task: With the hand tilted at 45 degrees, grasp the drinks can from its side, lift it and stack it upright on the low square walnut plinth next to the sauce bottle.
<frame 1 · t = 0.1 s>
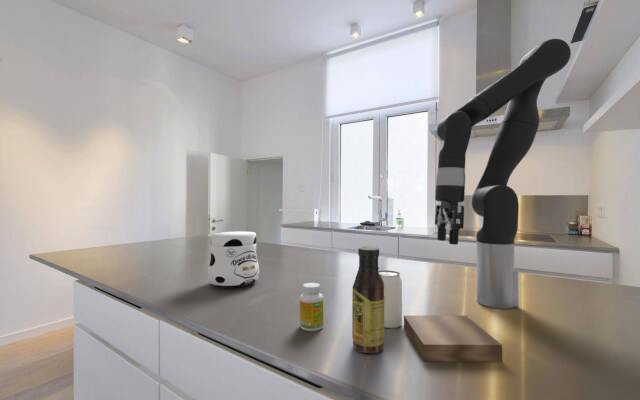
hand: (446, 242, 85), 17 cm above the countertop, tool pointing down, fingers open, 8 cm apart
milk container: (234, 285, 107), on the countertop
can: (387, 324, 72), on the countertop
sauce bottle: (368, 349, 60), on the countertop
plinth: (447, 343, 61), on the countertop
supplement bottle: (311, 327, 70), on the countertop
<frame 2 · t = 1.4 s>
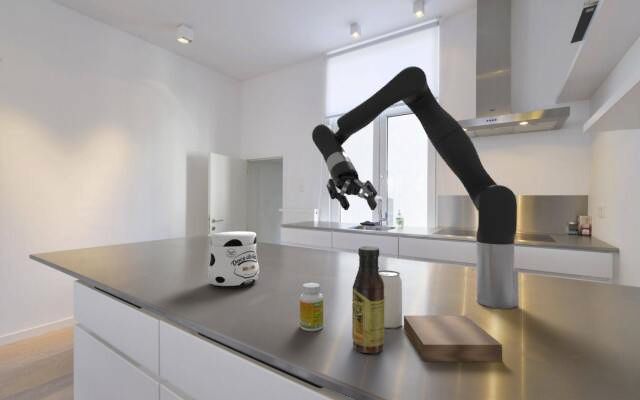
hand: (361, 208, 82), 27 cm above the countertop, tool tilted 45°, fingers open, 8 cm apart
nothing on the countertop moved.
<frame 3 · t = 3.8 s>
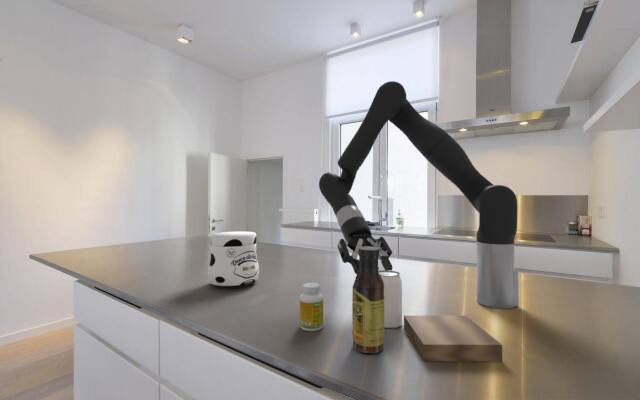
hand: (375, 272, 76), 11 cm above the countertop, tool tilted 45°, fingers open, 8 cm apart
nothing on the countertop moved.
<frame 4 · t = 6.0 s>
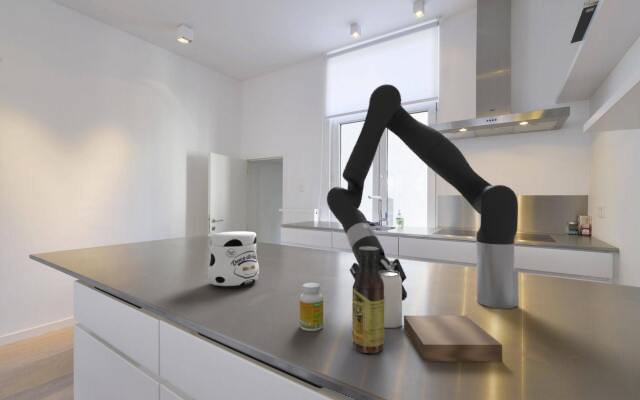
hand: (392, 300, 70), 6 cm above the countertop, tool tilted 45°, fingers closed on can, 6 cm apart
can: (388, 324, 72), on the countertop, touching gripper
everything else where it was.
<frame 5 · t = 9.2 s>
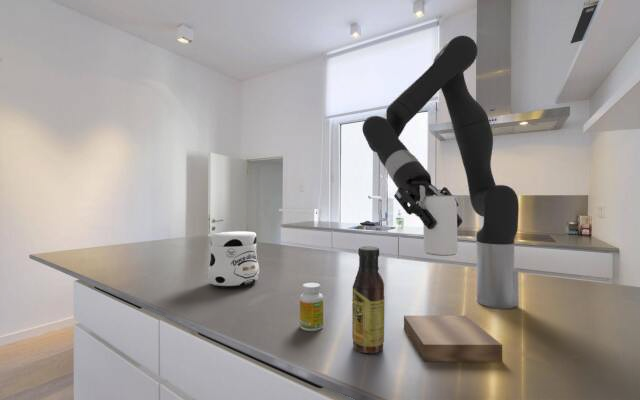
hand: (446, 225, 61), 24 cm above the countertop, tool tilted 45°, fingers closed on can, 6 cm apart
can: (440, 254, 63), point 18 cm above the countertop, touching gripper
everything else where it was.
when the fingers open (9 cm above the countertop, at t = 13.0 s): can stays where it is, resting on plinth.
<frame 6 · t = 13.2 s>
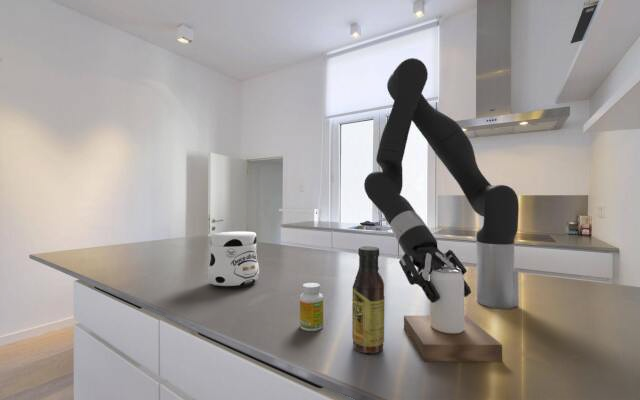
hand: (452, 297, 60), 10 cm above the countertop, tool tilted 45°, fingers open, 8 cm apart
can: (446, 329, 62), point 3 cm above the countertop, touching plinth
everything else where it was.
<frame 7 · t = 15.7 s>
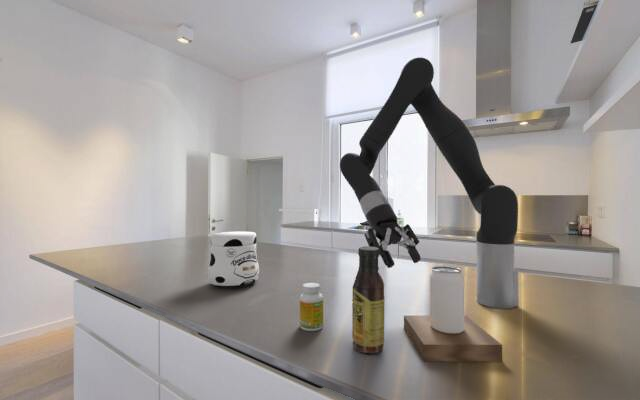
hand: (405, 263, 75), 13 cm above the countertop, tool tilted 40°, fingers open, 8 cm apart
nothing on the countertop moved.
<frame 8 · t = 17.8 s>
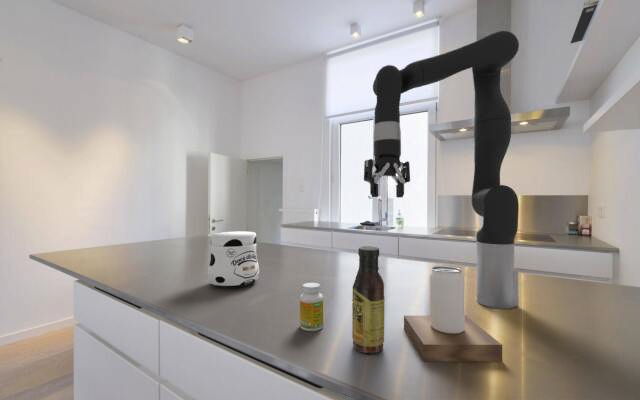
hand: (387, 197, 86), 30 cm above the countertop, tool pointing down, fingers open, 8 cm apart
nothing on the countertop moved.
at the end: can inside the target area on the plinth (0.1 cm from its centre), point 2.8 cm above the plinth's base; can tilted 0°; the gripper is holding nothing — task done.
